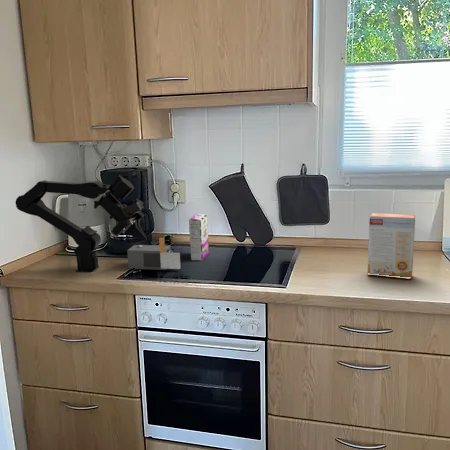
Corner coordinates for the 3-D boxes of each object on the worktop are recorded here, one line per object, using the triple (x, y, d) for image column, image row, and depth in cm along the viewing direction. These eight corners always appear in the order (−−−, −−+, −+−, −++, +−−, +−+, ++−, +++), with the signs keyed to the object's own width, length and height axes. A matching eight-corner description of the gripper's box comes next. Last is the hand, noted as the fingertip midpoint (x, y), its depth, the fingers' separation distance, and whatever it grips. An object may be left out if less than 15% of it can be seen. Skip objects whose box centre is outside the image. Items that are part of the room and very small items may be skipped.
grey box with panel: (128, 268, 172) (127, 248, 171) (135, 262, 180) (134, 243, 179) (168, 269, 170) (167, 249, 169) (174, 263, 178) (173, 244, 176)
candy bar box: (197, 253, 192) (196, 213, 189) (209, 253, 191) (208, 213, 188) (189, 260, 182) (188, 219, 178) (202, 261, 181) (201, 219, 177)
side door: (160, 268, 169) (159, 238, 167) (161, 267, 170) (160, 237, 168) (179, 269, 168) (178, 238, 166) (180, 268, 169) (179, 238, 167)
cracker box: (412, 275, 158) (416, 214, 154) (411, 280, 153) (415, 217, 149) (369, 271, 164) (372, 212, 160) (366, 275, 159) (369, 215, 155)
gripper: (119, 196, 156) (152, 229, 157) (137, 189, 174) (167, 219, 175) (98, 219, 159) (131, 252, 160) (118, 210, 177) (148, 239, 178)
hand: (145, 239), depth 168 cm, fingers closed
